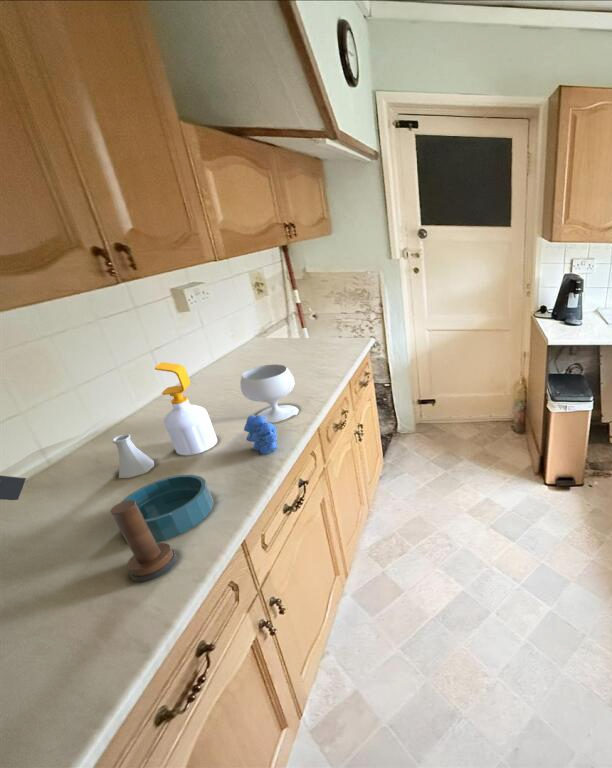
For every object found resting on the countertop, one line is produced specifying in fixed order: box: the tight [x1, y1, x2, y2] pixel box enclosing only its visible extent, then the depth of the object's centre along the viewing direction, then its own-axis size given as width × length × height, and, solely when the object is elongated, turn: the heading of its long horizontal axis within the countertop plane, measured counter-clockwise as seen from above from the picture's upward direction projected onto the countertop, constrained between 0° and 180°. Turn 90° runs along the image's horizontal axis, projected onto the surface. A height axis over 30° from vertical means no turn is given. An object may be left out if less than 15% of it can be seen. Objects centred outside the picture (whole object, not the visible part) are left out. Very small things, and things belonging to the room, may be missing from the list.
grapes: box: [243, 414, 278, 455], centre depth 104 cm, size 12×7×12 cm, turn 63°
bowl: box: [119, 474, 215, 543], centre depth 83 cm, size 15×15×6 cm
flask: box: [112, 433, 155, 479], centre depth 96 cm, size 7×7×10 cm
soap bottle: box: [154, 361, 218, 456], centre depth 102 cm, size 9×9×25 cm
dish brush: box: [109, 500, 178, 583], centre depth 69 cm, size 6×6×15 cm
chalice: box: [240, 364, 300, 423], centre depth 120 cm, size 14×14×15 cm
